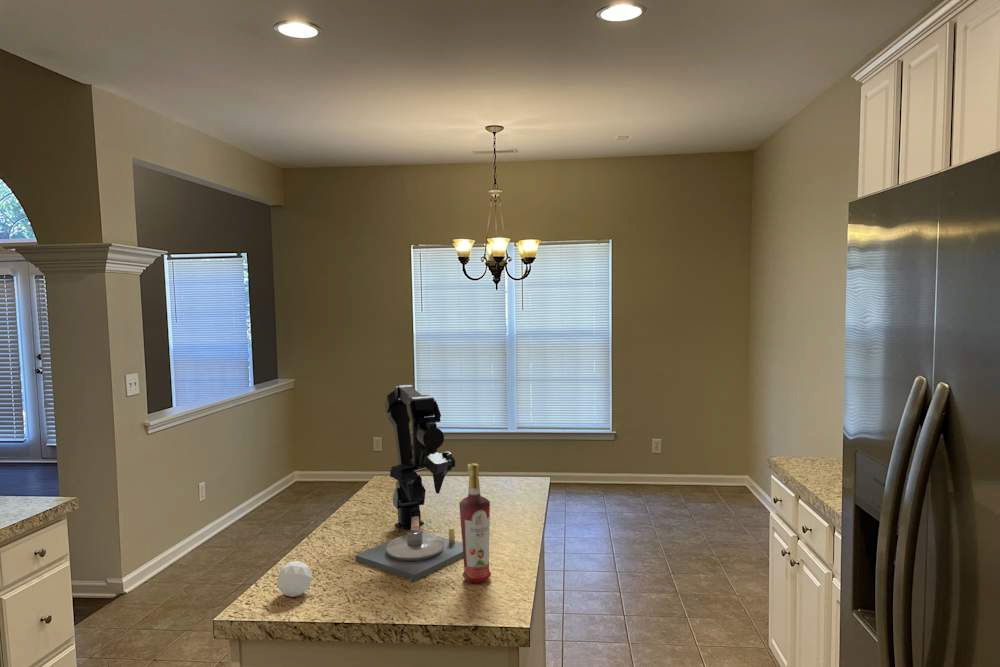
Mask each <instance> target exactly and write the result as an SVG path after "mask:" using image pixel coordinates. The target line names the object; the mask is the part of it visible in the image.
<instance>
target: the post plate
mask: <svg viewBox="0 0 1000 667" xmlns="http://www.w3.org/2000/svg"><path fill="white" fill-rule="evenodd" d="M422 534H428V533H427V532H423V531H422ZM429 534H430V533H429ZM405 535H407V533H406V534H403V535H402V536H405ZM430 535H432V534H430ZM455 536H456V534H455V527H452V526H451V527H448V538H445V537H442V536H439V537H440V538H441V539H442V540H443V542H444V549H443V551H442V552H441V553H440V554H439V555H437V556H435V557H432V558H429V559H425V560H420V561H400V560H395V559H392V558H390V557H389V556H388V555H387V550H386V546H387V544H388V543H389V542H390V541H391V540H389V541H386V542H384V543H382V544H379V545H376V546H374V547H372V548H369V549H367V550H364V551H362V552H360V553H357V554H355V561H356V562H359V563H361V564H363V565H367V566H370V567H373V568H375V569H378V570H381V571H385V572H387V573H390V574H393V575H396V576H399V577H403V578H405V579H407V580H410V581H413V582H416V581H418V580H419V579H421V578H424V577H427V576H428V575H430V574H432V573H434V572H437V571H438V570H440V569H443V568H444V567H447V566H448V565H450V564H453V563H454V562H456V561H458V560H460V559H462V558H463V559H464V557H463V543H462V542H459V541H456V539H455V538H456V537H455Z"/></svg>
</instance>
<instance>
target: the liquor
mask: <svg viewBox="0 0 1000 667" xmlns="http://www.w3.org/2000/svg"><path fill="white" fill-rule="evenodd" d="M467 473H468V493H467V496H465V497H464V498H462V499H461V501H459V518H460V519H459V521H460V531H461V541H462V542H461V543H463V573H462V578H463V579H465V580H466V582H469V583H470V584H473V585H475V584H476V585H480V584H483V583H486V581H487V580H488V579H489V578H490V577H491V576H492V572H491V571H490V527H491V526H490V520H491V519H490V517H491V516H490V515H491V512H490V511H491V509H490V508H491V506H490V505H491V502H490V500H489V499H488V498H486V497H485V496H482V495H481V489H480V488H481V487H480V479H479V476H480V475H479V474H480V464H479V463H474V462H473V463H468V464H467Z"/></svg>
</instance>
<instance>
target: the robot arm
mask: <svg viewBox="0 0 1000 667" xmlns="http://www.w3.org/2000/svg"><path fill="white" fill-rule="evenodd" d="M384 411H385V413H386V414H387V419H388V420H389V422H390V424H392V426H393V428H394V435H395V436H394V437H395V442H396V444H395V445H396V452H397V460H398V464H397V465H393V466H391V468H390V470H389V476H390V478H393V479H394V480H396V483H395V489H394V491H393V495H392V504H393V506H394V507H395V508H396V510H397V517H398V518H397V521H398V522H397V523H395V524H394V527H398V528H401V529H404V530H409V531H410V530H411V521H412V517H419V527H420V526H421V525H424V524H425V522H424V521H422V520H421V518H422V516H421V510H420V509H421V508H420V506H424V505H425V502H426V500H425V499H426V488H425V486H424V484H423V482H422V481H423V480H422V476H421V475H420V474H418V472H423V471H425V470H428V471H429V472H430V473H431V474H432V478H433V486H434V491H435V494H440V492H441V490H442V486H443V483H444V480H445V477H446V475H447V474H448V473H450V472H451V471H452V470H453V468H455V467H456V459H455V457H454V456H453V453H452V452H450V451H444V452H438V449H439V448H440V447H442V445H443V443H444V441H445V435H444V433H443V430H441V429H440V428H438V427H437V423H441V422H442V421H441V417H442V414H441V410H440V408H439V404H438V402H437V400H436V399H435V398H434V396H433V395H429V394H421V393H419V391H418V390H416V389H415V388H414V386H413V384H400V385H398V384H397V385H396V386H395V387H394V390H393V391H391V392H390V393H389V394H388V395H387V396H386V399H385V402H384ZM410 423H411V429H410ZM410 430H411V431H410ZM411 437H412V438H411Z"/></svg>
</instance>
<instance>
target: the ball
mask: <svg viewBox="0 0 1000 667" xmlns="http://www.w3.org/2000/svg"><path fill="white" fill-rule="evenodd" d="M312 578H313V574H312V571H311V568H309V566H308V565H307V564H306V563H304V562H302V561H300V560H299V561H298V560H297V561H296V560H295V561H289V562H287V564H285V565H284V566H282V567H281V568H280V570H279V572H278V575H277V578H276V582H277V583H276V585H277V588H278V589H279V591H280V592H281V593H282V594H283V595H285V596H288V597H292V598H294V597H300V596H301V595H303V594H304V593H305V592H307V590H309V589H310V585H311V583H312V582H311V581H312Z"/></svg>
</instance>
